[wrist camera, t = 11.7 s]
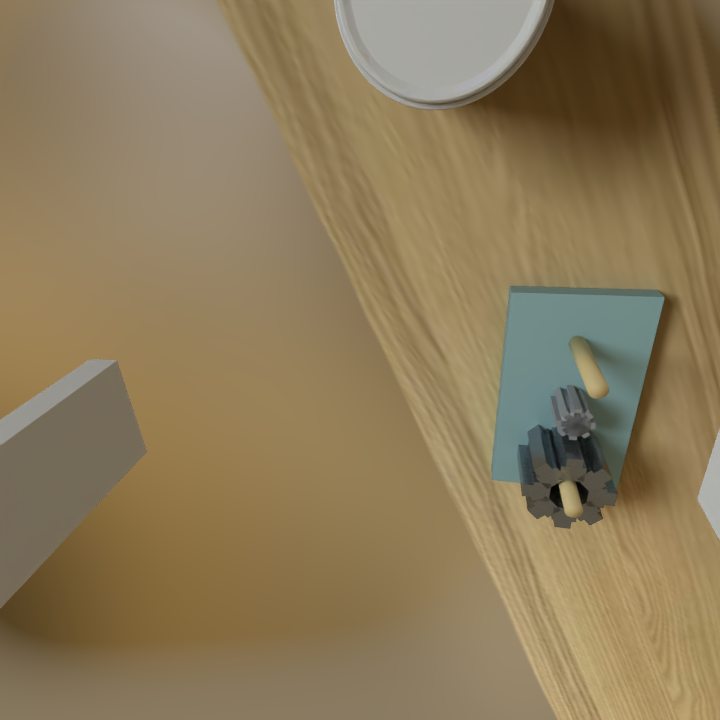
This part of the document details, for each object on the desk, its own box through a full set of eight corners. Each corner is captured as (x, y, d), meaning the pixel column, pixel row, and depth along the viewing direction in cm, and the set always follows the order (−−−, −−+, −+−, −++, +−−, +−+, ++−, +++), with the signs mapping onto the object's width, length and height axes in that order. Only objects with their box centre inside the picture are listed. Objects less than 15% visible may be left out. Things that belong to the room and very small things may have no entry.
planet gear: (521, 417, 40) (527, 454, 35) (607, 423, 38) (625, 463, 34) (513, 480, 42) (518, 522, 38) (593, 488, 41) (607, 533, 37)
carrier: (510, 286, 37) (519, 330, 29) (657, 290, 35) (707, 338, 27) (491, 469, 44) (494, 541, 37) (611, 480, 42) (641, 559, 35)
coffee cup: (566, -4, 29) (620, -71, 18) (463, 141, 33) (457, 154, 23) (439, -111, 28) (417, -248, 17) (349, 52, 32) (289, 23, 22)
